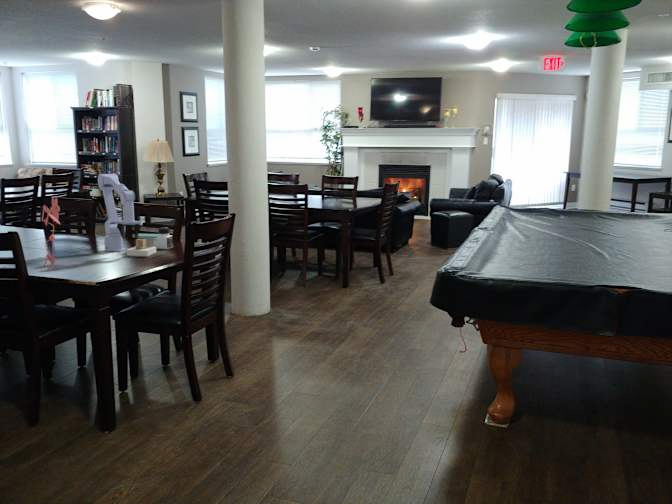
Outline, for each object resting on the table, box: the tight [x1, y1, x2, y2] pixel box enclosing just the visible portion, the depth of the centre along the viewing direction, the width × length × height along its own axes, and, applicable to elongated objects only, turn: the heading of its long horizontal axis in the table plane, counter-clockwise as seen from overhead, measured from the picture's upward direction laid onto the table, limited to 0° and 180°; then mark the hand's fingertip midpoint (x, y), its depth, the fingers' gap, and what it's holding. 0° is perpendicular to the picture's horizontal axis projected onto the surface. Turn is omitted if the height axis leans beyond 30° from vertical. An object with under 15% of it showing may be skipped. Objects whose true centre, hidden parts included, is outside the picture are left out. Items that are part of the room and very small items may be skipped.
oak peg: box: [135, 238, 146, 249], centre depth 325 cm, size 4×4×8 cm
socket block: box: [125, 245, 157, 258], centre depth 326 cm, size 12×12×4 cm
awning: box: [133, 233, 161, 247], centre depth 335 cm, size 13×7×10 cm, turn 85°
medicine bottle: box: [155, 227, 174, 250], centre depth 345 cm, size 7×7×12 cm
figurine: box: [41, 196, 77, 271], centre depth 291 cm, size 15×26×35 cm, turn 39°
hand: (129, 237), depth 322 cm, fingers open, 7 cm apart
